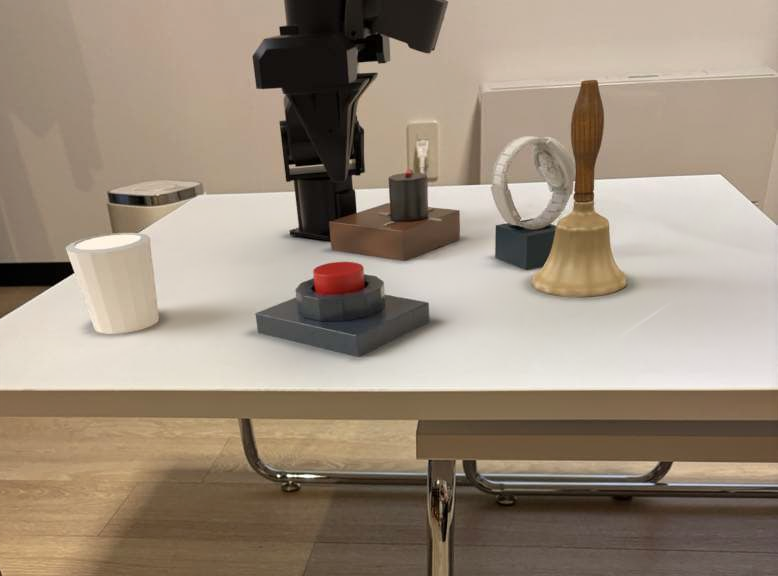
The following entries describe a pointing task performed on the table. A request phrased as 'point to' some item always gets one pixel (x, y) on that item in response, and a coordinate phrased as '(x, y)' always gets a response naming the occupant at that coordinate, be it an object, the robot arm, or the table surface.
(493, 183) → the watch
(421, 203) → the dial
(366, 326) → the button box
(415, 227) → the dial panel
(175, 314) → the table surface
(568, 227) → the hand bell
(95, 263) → the white cup
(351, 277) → the button
